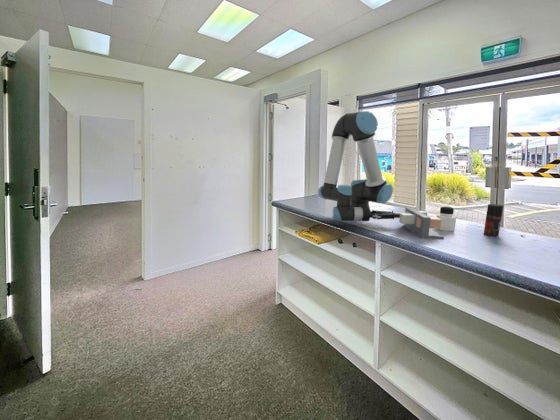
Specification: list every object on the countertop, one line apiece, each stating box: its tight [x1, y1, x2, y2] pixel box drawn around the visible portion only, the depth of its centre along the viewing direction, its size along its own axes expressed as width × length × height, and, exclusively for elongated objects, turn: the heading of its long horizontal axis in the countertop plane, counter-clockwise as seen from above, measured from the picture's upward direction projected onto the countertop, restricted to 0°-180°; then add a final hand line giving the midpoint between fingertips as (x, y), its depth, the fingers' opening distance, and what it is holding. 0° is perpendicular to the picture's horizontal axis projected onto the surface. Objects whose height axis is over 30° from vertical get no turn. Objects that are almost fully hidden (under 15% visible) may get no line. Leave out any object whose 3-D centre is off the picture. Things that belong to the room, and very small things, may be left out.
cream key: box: [398, 212, 416, 225], centre depth 145 cm, size 10×4×4 cm, turn 85°
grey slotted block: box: [403, 207, 445, 240], centre depth 145 cm, size 10×25×10 cm, turn 175°
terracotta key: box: [416, 216, 442, 230], centre depth 137 cm, size 10×4×4 cm, turn 85°
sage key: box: [406, 210, 428, 216], centre depth 153 cm, size 10×4×4 cm, turn 85°
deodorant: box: [483, 203, 504, 237], centre depth 139 cm, size 6×6×15 cm
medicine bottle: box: [436, 205, 457, 232], centre depth 150 cm, size 7×7×12 cm
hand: (406, 215), depth 153 cm, fingers closed
